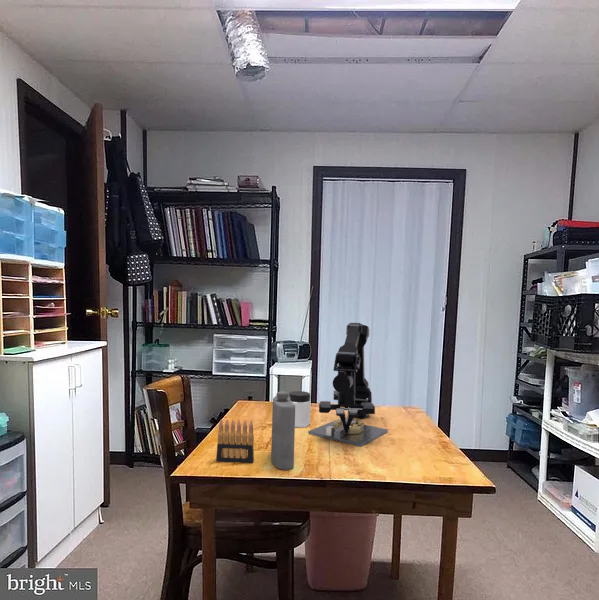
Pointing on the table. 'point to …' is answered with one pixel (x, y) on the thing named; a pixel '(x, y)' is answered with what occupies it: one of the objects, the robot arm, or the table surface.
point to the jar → (301, 407)
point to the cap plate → (354, 439)
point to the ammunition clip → (236, 450)
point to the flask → (283, 431)
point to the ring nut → (353, 429)
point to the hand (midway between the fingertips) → (346, 432)
